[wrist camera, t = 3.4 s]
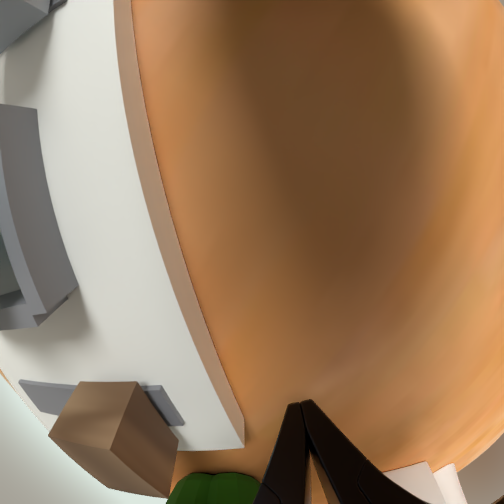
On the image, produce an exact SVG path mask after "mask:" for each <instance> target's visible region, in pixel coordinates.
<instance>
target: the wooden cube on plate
mask: <svg viewBox="0 0 504 504" xmlns="http://www.w3.org/2000/svg"><path fill="white" fill-rule="evenodd" d="M48 436H49V437H50V438H51V439H52V440H53V441H54V442H55V443H56V444H57V445H58V446H59V447H60V448H61V449H62V450H63V451H64V452H65V453H66V454H67V455H68V456H69V457H71V458H72V459H73V460H74V461H75V462H76V463H77V464H78V465H80V466H81V467H82V468H83V469H84V470H86V471H87V472H88V473H89V474H91V475H92V476H93V477H94V478H96V479H97V480H98V481H99V482H101V483H102V484H103V485H105V486H106V487H108V488H111V489H115V490H119V491H124V492H128V493H134V494H139V495H145V496H152V497H160V498H167V499H169V493H170V487H171V481H172V476H173V470H174V465H175V459H176V454H177V448H178V443H179V440H178V439H177V437H176V436H175V435H174V433H173V432H172V431H171V430H170V428H169V427H168V426H167V424H166V423H165V422H164V420H163V419H162V417H161V416H160V415H159V413H158V412H157V410H156V409H155V408H154V406H153V405H152V403H151V402H150V400H149V399H148V397H147V396H146V394H145V393H144V391H143V390H142V388H141V386H140V385H139V383H138V382H137V381H129V382H89V381H80V382H79V383H78V385H77V387H76V388H75V390H74V391H73V393H72V395H71V396H70V398H69V400H68V401H67V403H66V405H65V406H64V408H63V410H62V411H61V413H60V415H59V416H58V418H57V420H56V422H55V423H54V425H53V427H52V429H51V431H50V432H49V434H48Z"/></svg>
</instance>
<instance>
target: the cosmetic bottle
mask: <svg viewBox="0 0 504 504" xmlns="http://www.w3.org/2000/svg"><path fill="white" fill-rule="evenodd" d="M433 475H434V478H435V480H436V482H437V484H438V486H439V488H440V491H441V493H442V495H443V497H444V500H445V502H446V504H467V502H466V499H465V496H464V494H463V491H462V488H461V485H460V482H459V479H458V476H457V472H456V469H455V465H454V463H450V464H448V465H446V466H444V467H442V468H440V469H439V470H437V471H435V472H434V473H433Z"/></svg>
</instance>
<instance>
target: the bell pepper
mask: <svg viewBox="0 0 504 504" xmlns="http://www.w3.org/2000/svg"><path fill="white" fill-rule="evenodd" d="M260 485H261V484H260V483H259V482H258V481H257V480H255V479H254V478H252V477H251V476H247V475H243V474H239V473H235V472H234V473H220V474H217V475H209V474H201V473H192V474H189V475H187V476H185V477H184V478H183V479H181V480H180V481H179V482H178V483H177V484H176V486H175V488H174V489H173V491H172V493H171V494H170V496H169V499H168V500H167V502H166V504H252V503H253V501H254V499H255V497H256V494H257V492H258V490H259V487H260Z"/></svg>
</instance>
